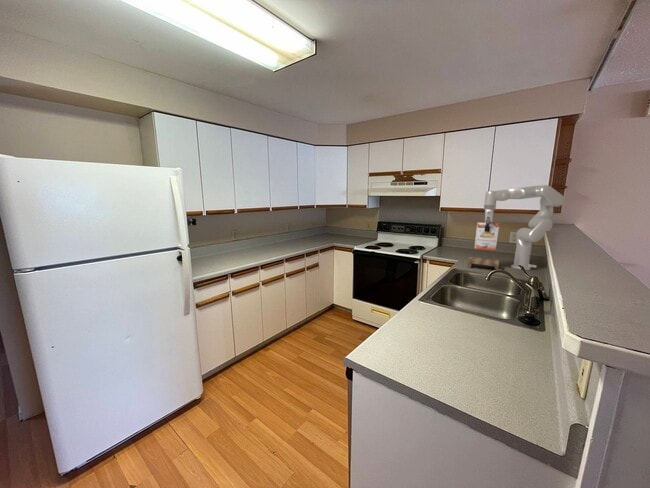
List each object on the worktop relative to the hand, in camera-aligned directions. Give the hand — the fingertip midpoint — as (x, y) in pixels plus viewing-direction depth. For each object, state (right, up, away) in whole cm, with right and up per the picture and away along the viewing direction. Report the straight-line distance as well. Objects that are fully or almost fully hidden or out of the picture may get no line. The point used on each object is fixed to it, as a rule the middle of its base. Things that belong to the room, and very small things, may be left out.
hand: (487, 230), depth 204 cm
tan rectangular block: (0, -29, +5) cm, 30 cm away
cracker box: (0, -15, +3) cm, 15 cm away
